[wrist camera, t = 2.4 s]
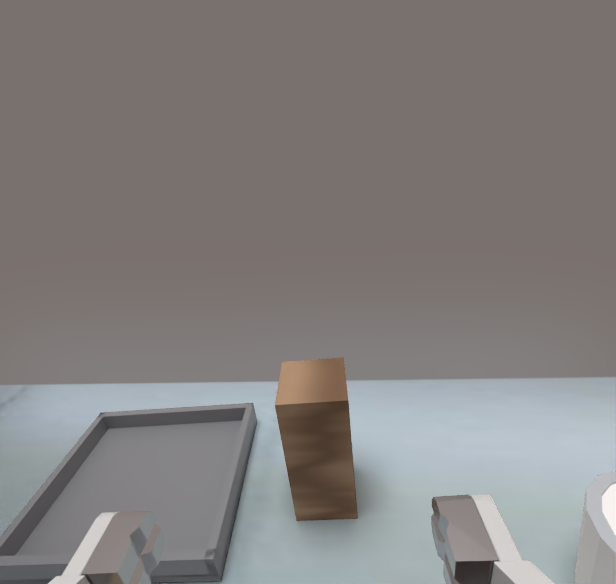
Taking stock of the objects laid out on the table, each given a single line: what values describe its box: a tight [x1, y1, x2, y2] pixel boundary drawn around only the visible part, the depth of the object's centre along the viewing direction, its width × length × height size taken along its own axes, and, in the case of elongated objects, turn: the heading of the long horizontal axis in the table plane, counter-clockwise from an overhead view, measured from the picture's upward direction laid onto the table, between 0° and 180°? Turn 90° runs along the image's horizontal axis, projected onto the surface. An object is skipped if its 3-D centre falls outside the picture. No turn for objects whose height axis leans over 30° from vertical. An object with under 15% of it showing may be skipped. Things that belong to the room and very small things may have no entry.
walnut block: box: [275, 358, 357, 521], centre depth 25 cm, size 4×4×11 cm
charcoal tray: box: [0, 403, 257, 584], centre depth 29 cm, size 16×14×2 cm
